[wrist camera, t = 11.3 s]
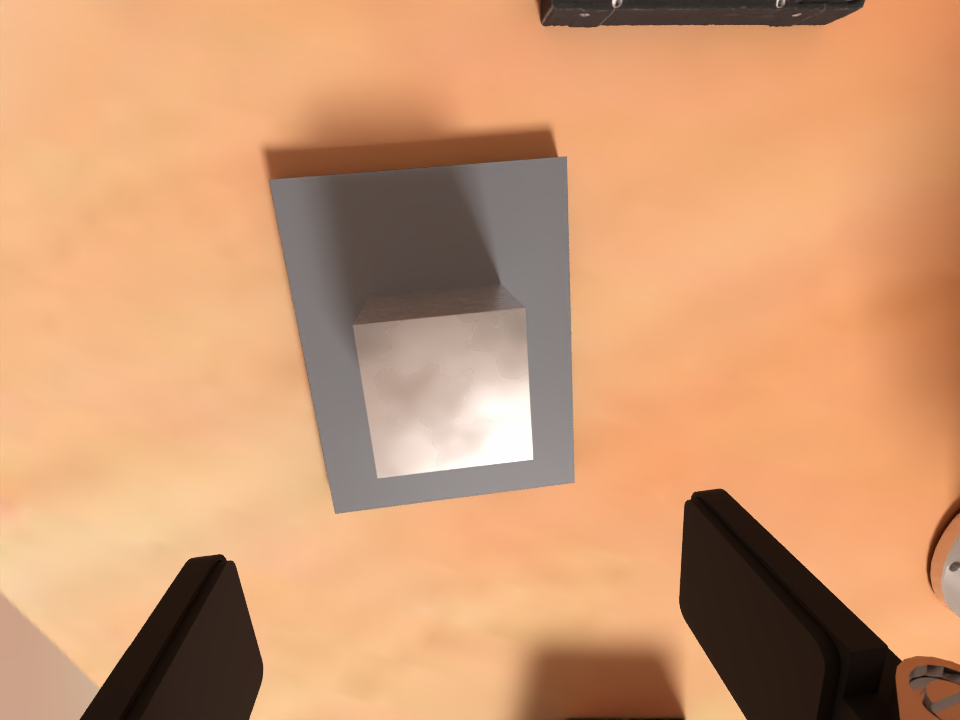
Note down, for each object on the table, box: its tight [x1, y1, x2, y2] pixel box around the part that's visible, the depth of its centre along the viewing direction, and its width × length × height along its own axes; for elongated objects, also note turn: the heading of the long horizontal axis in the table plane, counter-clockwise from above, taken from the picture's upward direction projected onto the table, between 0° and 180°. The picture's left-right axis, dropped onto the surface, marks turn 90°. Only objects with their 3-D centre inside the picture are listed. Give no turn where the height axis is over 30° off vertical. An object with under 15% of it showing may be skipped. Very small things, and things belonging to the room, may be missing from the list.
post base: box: [269, 156, 575, 514], centre depth 25 cm, size 14×18×6 cm
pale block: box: [353, 283, 533, 478], centre depth 23 cm, size 7×7×6 cm
